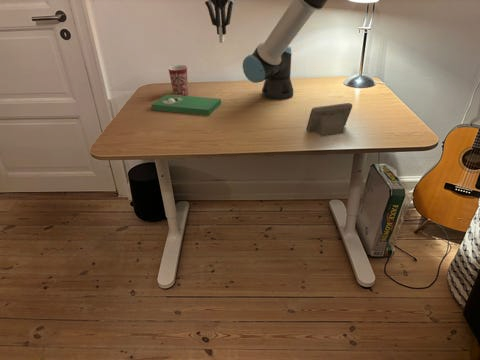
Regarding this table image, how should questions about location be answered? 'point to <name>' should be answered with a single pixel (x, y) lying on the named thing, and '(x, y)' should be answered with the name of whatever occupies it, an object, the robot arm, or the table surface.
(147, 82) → the table surface
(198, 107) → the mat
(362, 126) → the table surface
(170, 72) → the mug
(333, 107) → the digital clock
